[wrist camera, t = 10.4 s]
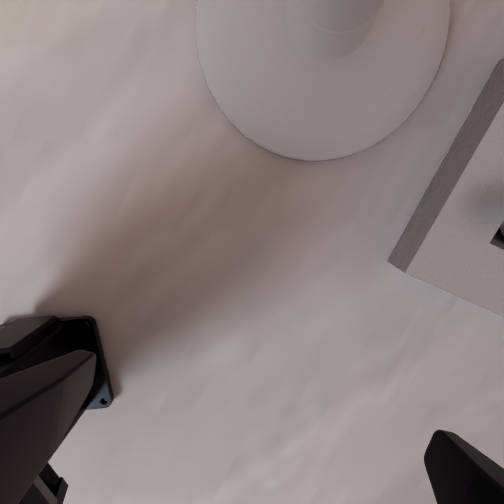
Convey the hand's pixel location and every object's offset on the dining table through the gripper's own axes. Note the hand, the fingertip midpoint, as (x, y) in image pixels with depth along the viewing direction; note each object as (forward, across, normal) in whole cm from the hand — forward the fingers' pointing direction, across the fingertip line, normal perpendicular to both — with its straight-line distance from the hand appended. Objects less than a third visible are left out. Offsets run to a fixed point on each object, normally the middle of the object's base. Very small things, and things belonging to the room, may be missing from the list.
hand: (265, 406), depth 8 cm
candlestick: (+12, 0, -13) cm, 18 cm away
